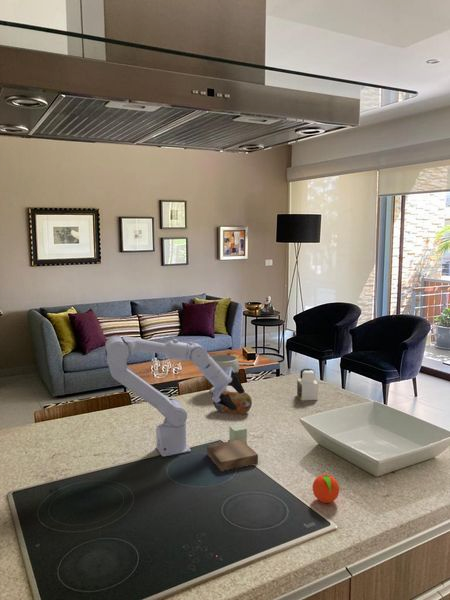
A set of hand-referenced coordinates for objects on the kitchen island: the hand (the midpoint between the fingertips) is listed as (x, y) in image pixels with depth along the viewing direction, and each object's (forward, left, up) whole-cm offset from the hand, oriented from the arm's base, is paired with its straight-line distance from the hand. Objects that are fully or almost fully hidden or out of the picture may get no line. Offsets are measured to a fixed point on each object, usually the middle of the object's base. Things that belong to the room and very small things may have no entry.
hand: (238, 400), depth 167 cm
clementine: (+5, -44, -14) cm, 47 cm away
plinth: (-8, -12, -14) cm, 20 cm away
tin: (+8, +24, -14) cm, 29 cm away
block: (-1, -1, -14) cm, 14 cm away
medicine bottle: (+43, +26, -14) cm, 52 cm away
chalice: (+14, +48, -14) cm, 52 cm away
